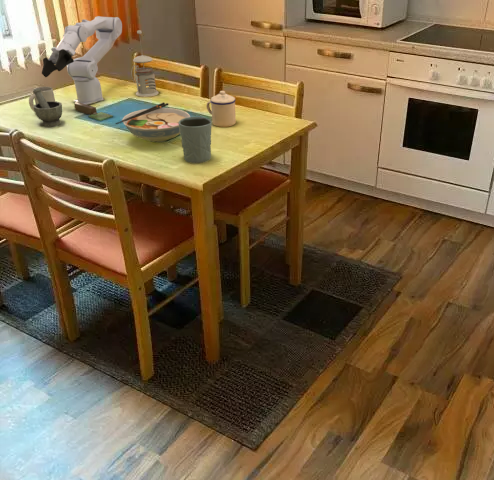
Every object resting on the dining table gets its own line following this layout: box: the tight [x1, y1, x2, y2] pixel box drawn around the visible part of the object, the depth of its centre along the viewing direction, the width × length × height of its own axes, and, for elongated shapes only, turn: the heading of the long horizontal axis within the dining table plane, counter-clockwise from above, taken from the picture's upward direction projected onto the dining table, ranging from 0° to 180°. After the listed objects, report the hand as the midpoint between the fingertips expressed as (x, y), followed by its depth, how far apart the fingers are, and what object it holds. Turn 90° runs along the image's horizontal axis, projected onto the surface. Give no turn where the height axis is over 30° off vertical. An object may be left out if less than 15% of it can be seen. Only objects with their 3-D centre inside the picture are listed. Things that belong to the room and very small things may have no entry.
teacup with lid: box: [206, 90, 237, 128], centre depth 213 cm, size 12×9×12 cm
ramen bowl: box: [114, 102, 191, 143], centre depth 199 cm, size 25×23×8 cm
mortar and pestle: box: [32, 89, 63, 128], centre depth 211 cm, size 11×9×12 cm
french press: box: [130, 29, 160, 98], centre depth 239 cm, size 10×12×25 cm
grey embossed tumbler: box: [178, 116, 213, 164], centre depth 184 cm, size 10×10×12 cm
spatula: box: [73, 102, 114, 122], centre depth 222 cm, size 18×6×3 cm, turn 52°
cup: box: [28, 86, 56, 113], centre depth 221 cm, size 7×10×9 cm
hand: (50, 72), depth 211 cm, fingers open, 7 cm apart
